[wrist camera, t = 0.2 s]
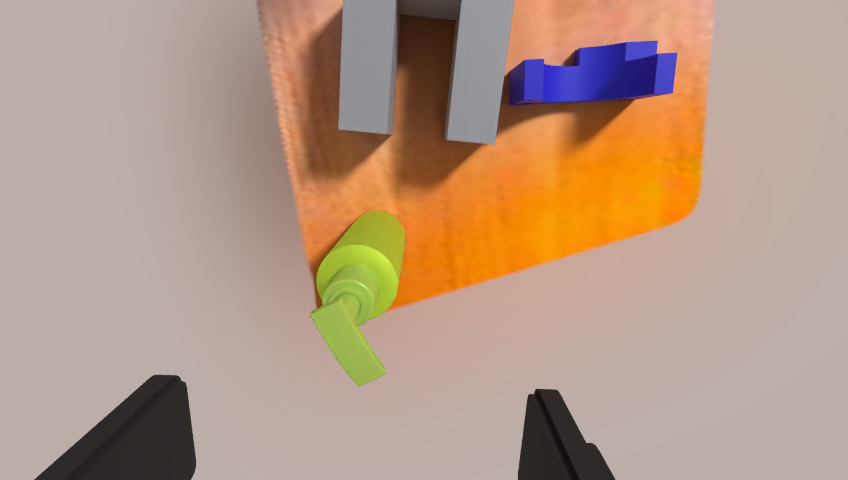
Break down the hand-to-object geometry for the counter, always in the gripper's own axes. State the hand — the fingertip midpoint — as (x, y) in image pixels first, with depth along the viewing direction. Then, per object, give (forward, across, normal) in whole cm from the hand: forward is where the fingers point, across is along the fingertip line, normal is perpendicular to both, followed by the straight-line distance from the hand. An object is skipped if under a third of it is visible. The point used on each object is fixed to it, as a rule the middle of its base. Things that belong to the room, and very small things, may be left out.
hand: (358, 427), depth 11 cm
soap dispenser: (+31, +3, +3) cm, 31 cm away
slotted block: (+31, -1, -14) cm, 34 cm away
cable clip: (+31, -15, -14) cm, 37 cm away
